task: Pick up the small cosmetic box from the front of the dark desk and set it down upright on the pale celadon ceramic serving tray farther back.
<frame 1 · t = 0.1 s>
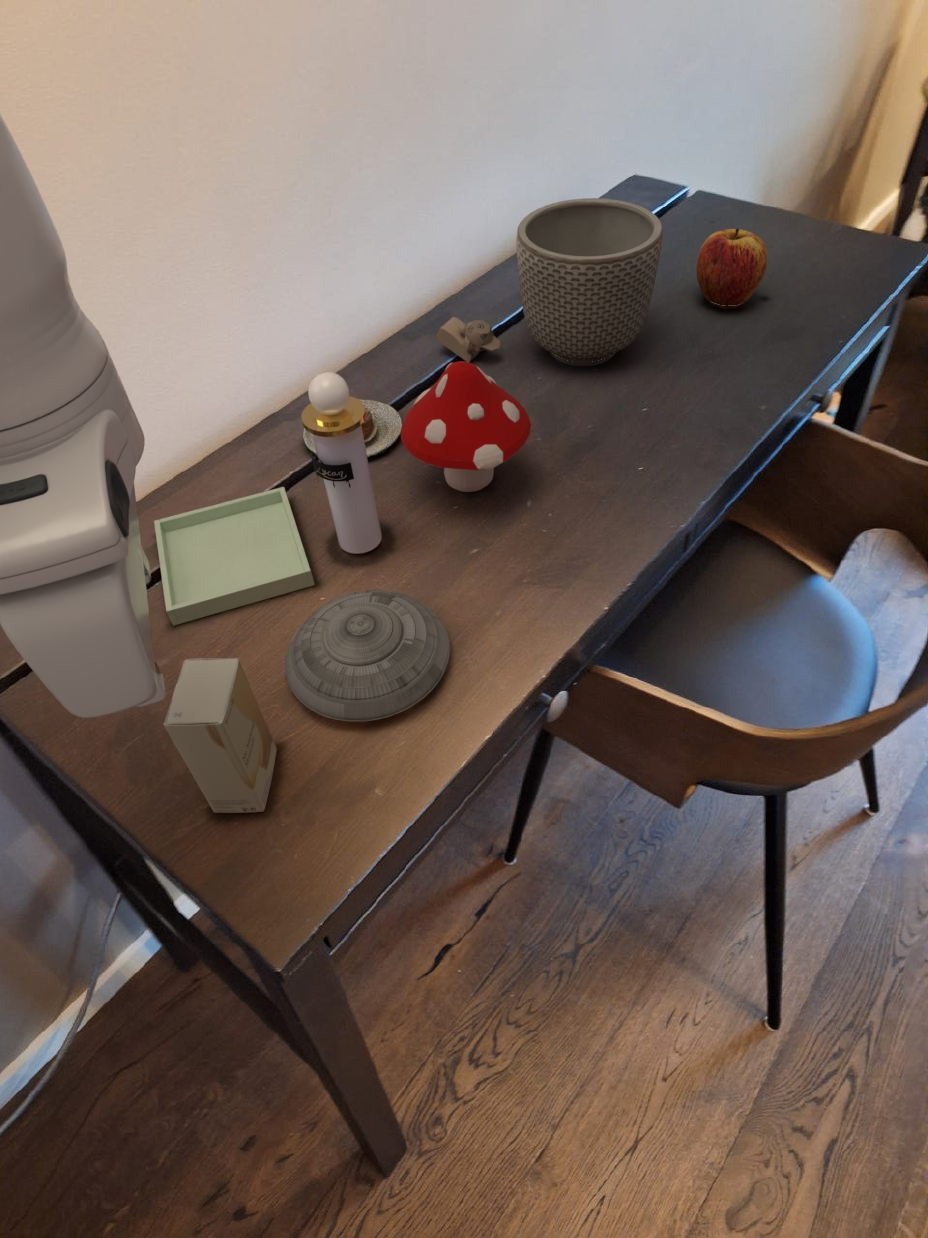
hand: (143, 632, 47), 23 cm above the table, tool pointing down, fingers open, 8 cm apart
apple: (723, 303, 114), on the table
cosmetic box: (247, 780, 67), on the table
toy character: (471, 357, 109), on the table
planter: (582, 351, 108), on the table
flying saucer: (370, 664, 75), on the table
perfume bottle: (361, 545, 86), on the table
tray: (234, 559, 85), on the table
decorative mushroom: (470, 483, 91), on the table
grey speckled shallow bowl: (354, 437, 98), on the table
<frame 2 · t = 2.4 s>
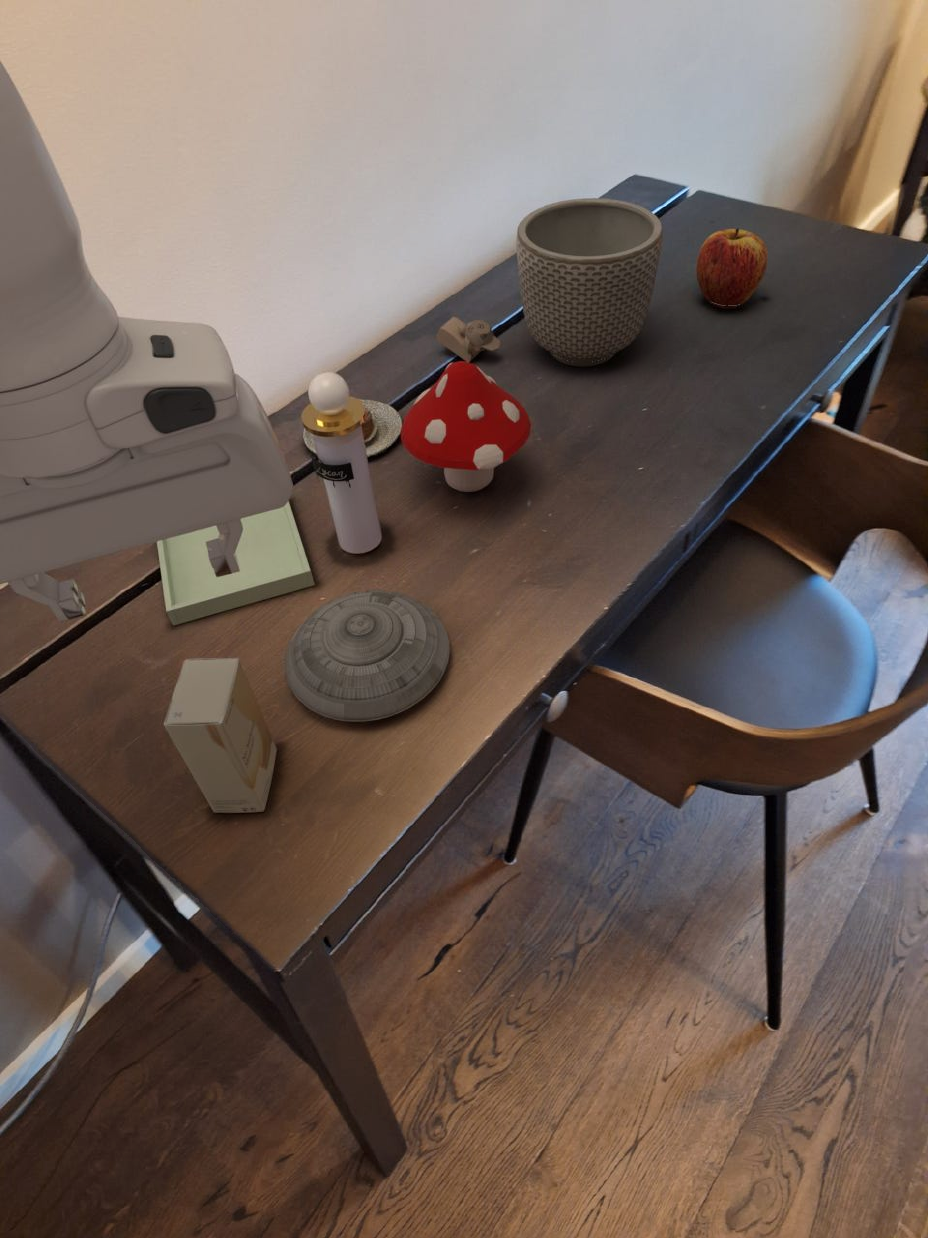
hand: (151, 589, 50), 23 cm above the table, tool pointing down, fingers open, 8 cm apart
nothing on the table moved.
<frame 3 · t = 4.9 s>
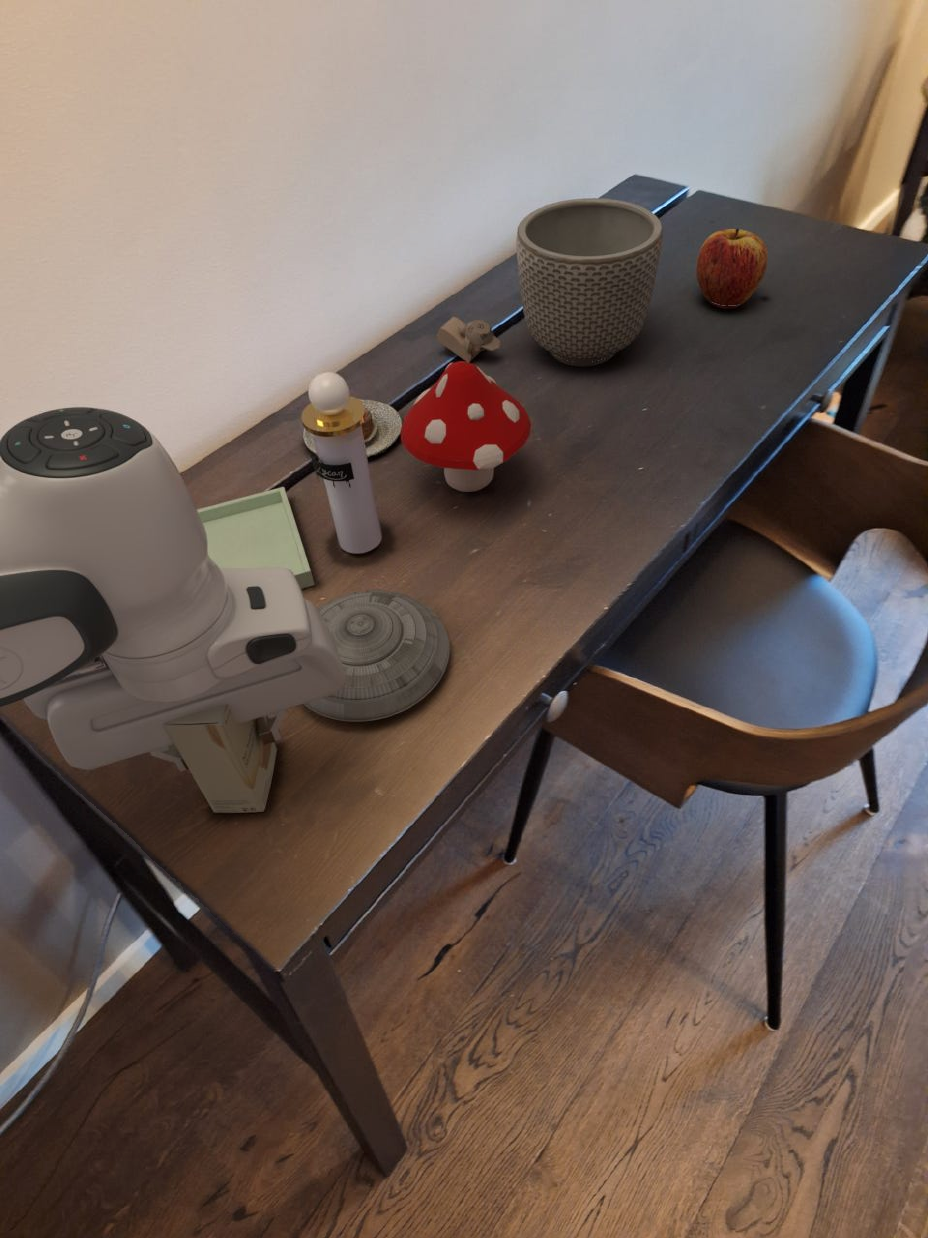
hand: (231, 748, 64), 5 cm above the table, tool pointing down, fingers closed on cosmetic box, 5 cm apart
cosmetic box: (247, 780, 67), on the table, touching gripper
everything else where it was.
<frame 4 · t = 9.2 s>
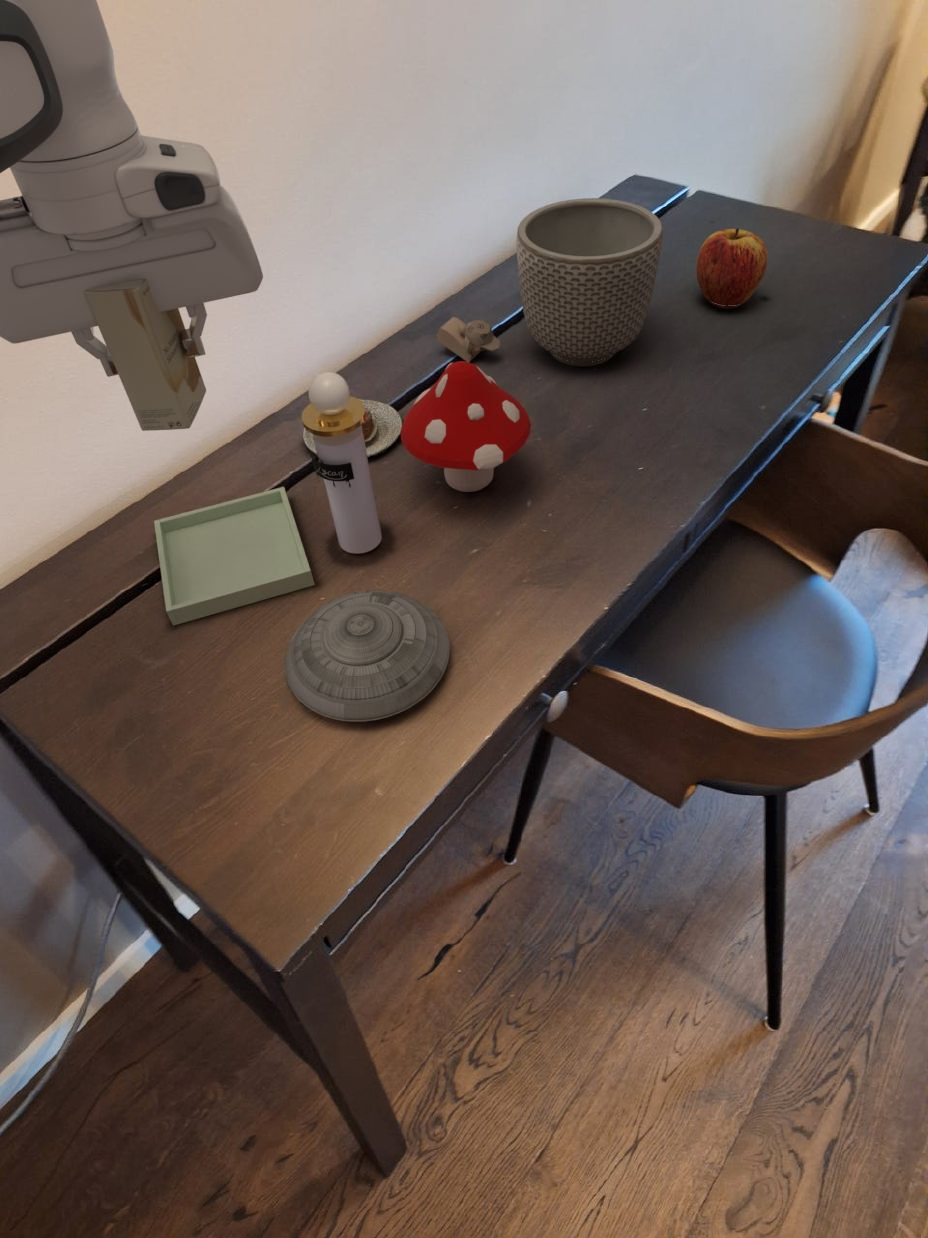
hand: (157, 362, 67), 24 cm above the table, tool pointing down, fingers closed on cosmetic box, 5 cm apart
cosmetic box: (176, 412, 70), point 19 cm above the table, touching gripper
everything else where it was.
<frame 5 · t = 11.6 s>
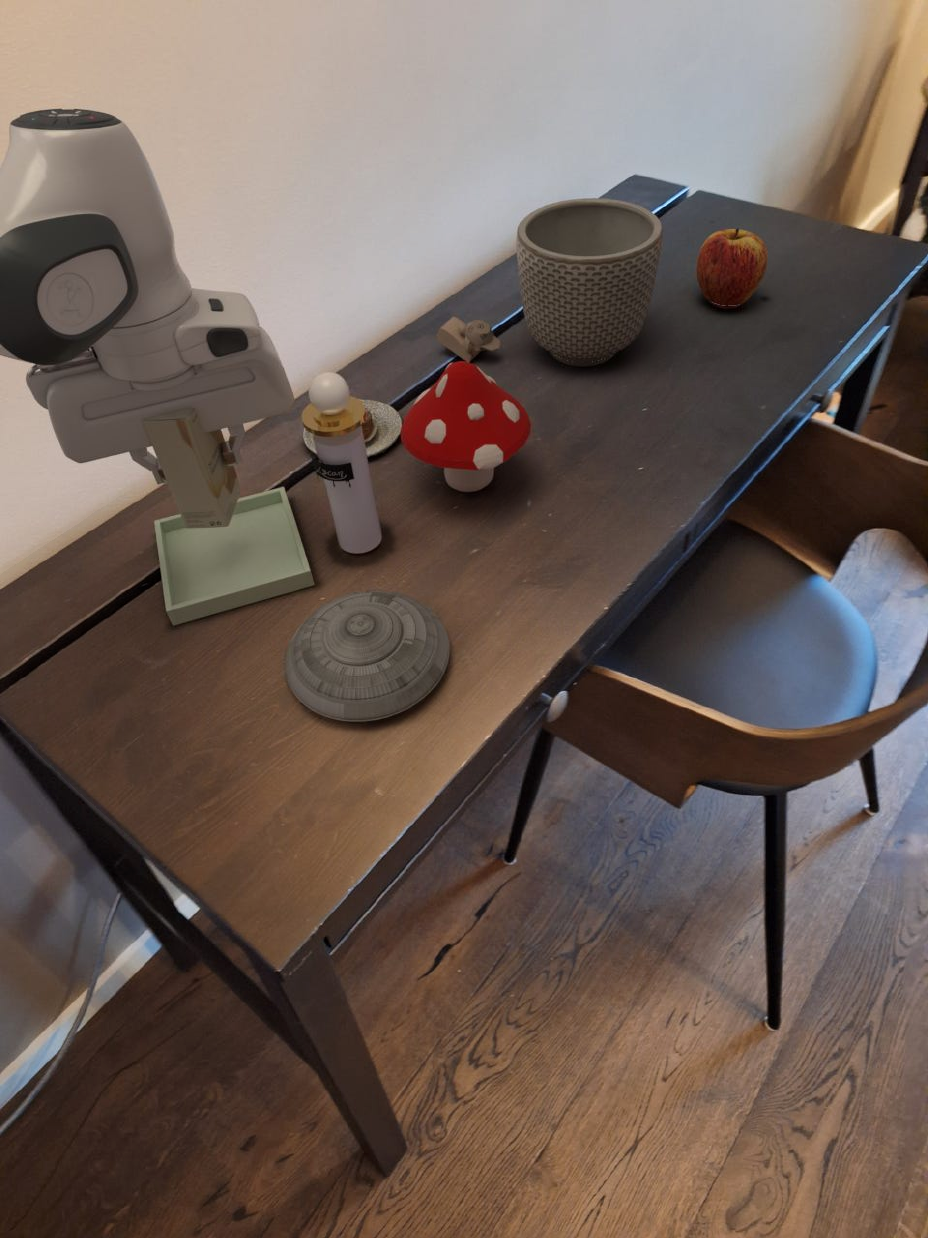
hand: (200, 470, 76), 12 cm above the table, tool pointing down, fingers closed on cosmetic box, 5 cm apart
cosmetic box: (215, 509, 80), point 7 cm above the table, touching gripper
everything else where it was.
when the fingers open (5 cm above the table, at t = 13.6 s): cosmetic box stays where it is, resting on tray.
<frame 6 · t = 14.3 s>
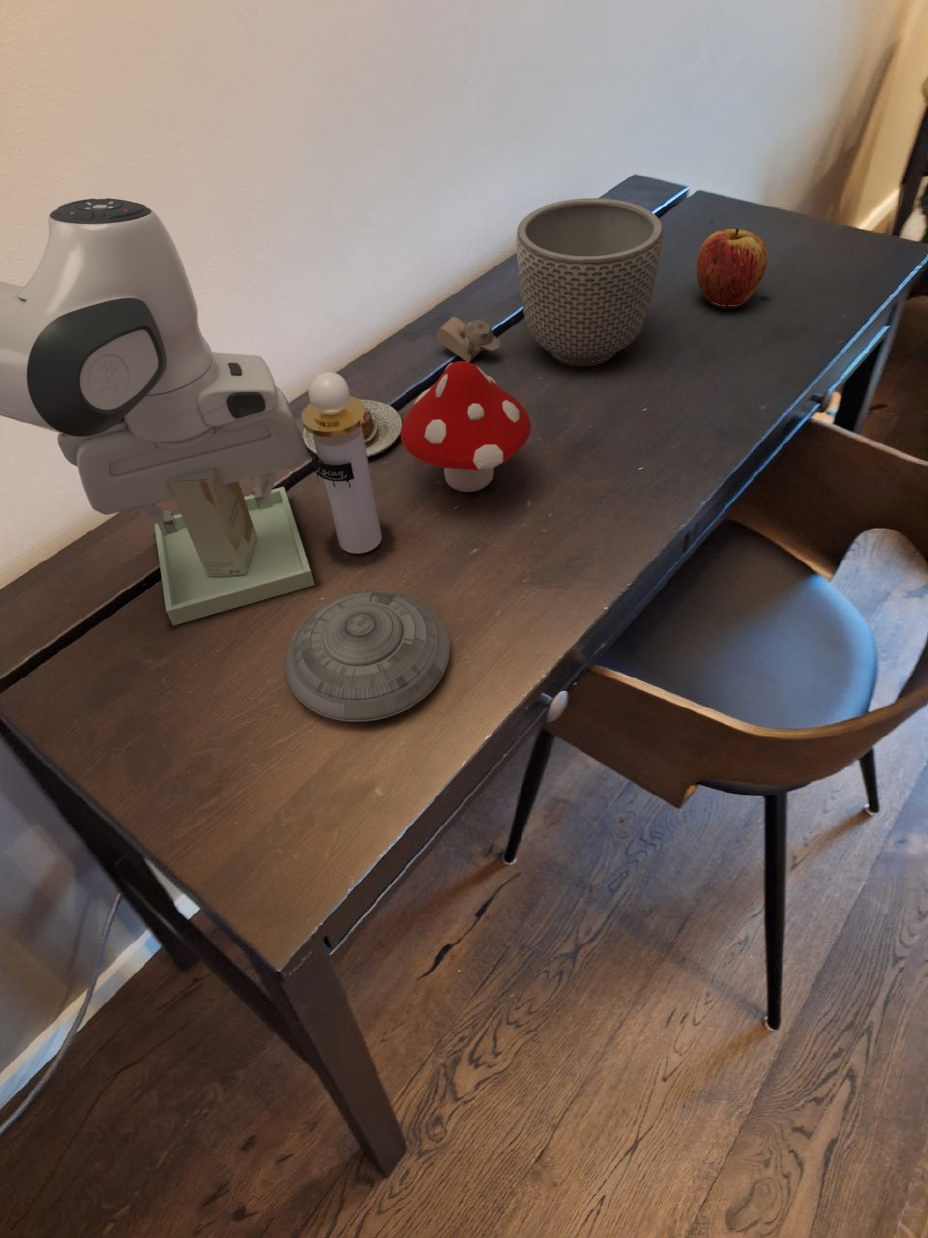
hand: (218, 517, 81), 6 cm above the table, tool pointing down, fingers open, 8 cm apart
cosmetic box: (233, 556, 85), resting on tray
everything else where it was.
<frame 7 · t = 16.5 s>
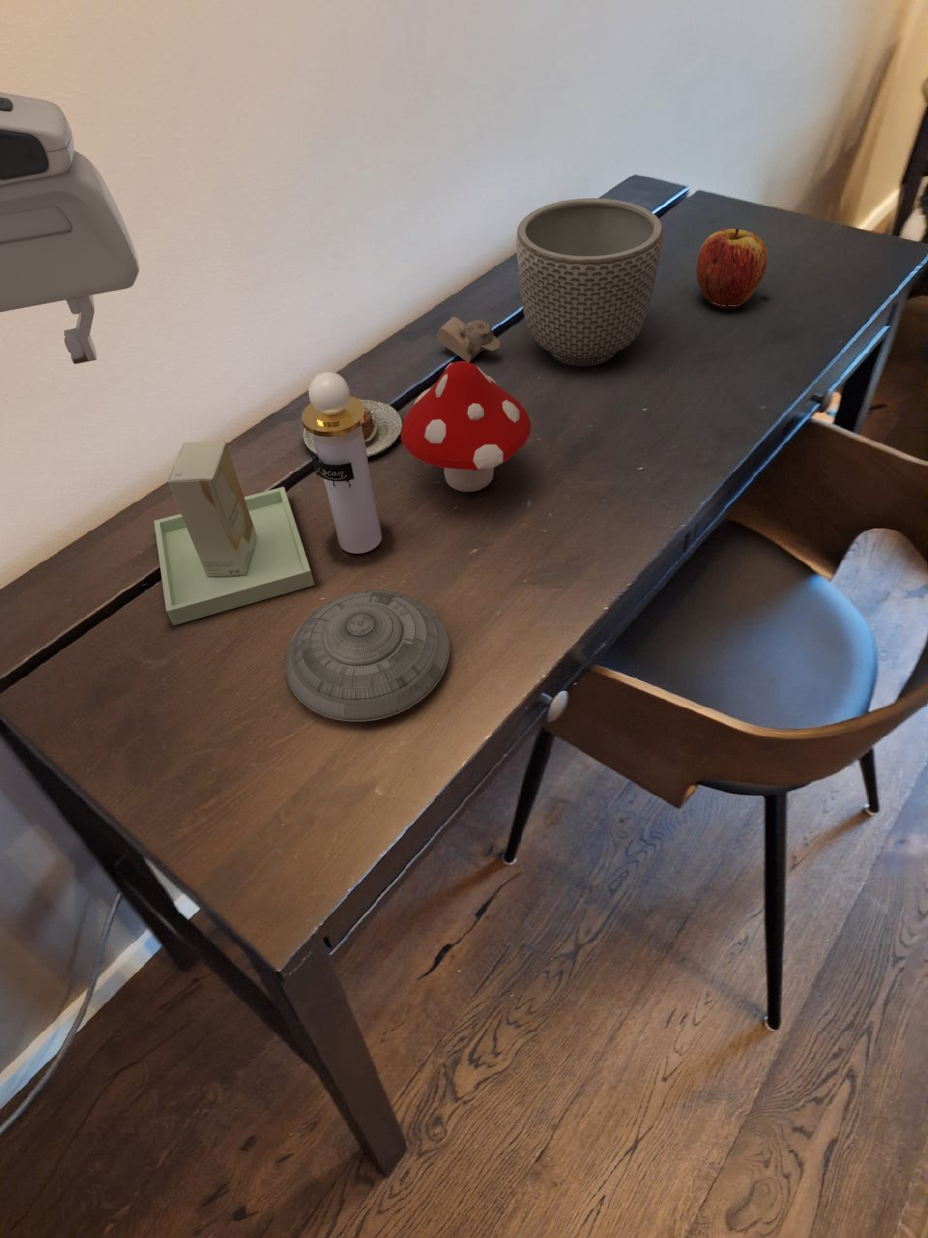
hand: (12, 373, 54), 30 cm above the table, tool pointing down, fingers open, 8 cm apart
nothing on the table moved.
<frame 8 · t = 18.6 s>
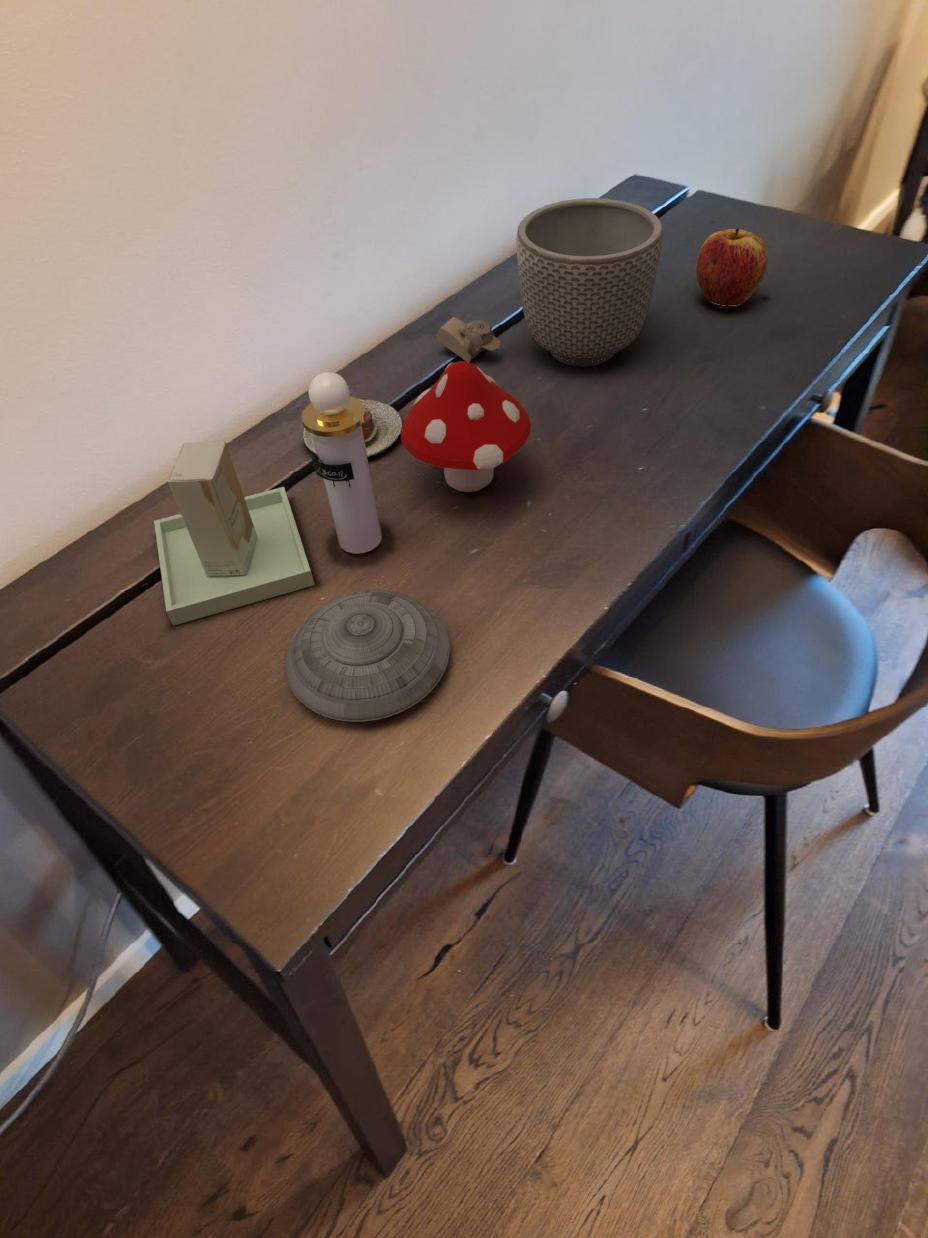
nothing on the table moved.
at the end: cosmetic box inside the target area in the tray (0.1 cm from its centre), point 0.4 cm above the tray's base; cosmetic box tilted 0°; the gripper is holding nothing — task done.
